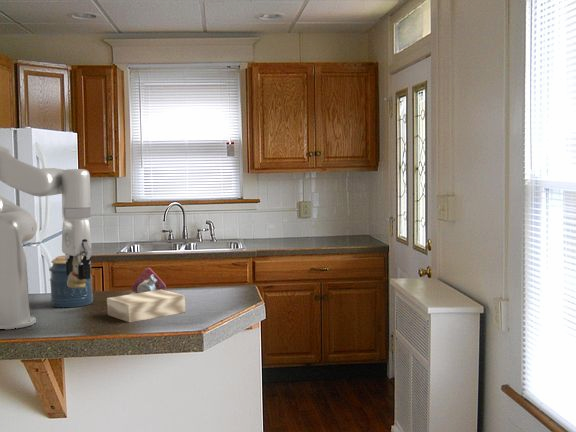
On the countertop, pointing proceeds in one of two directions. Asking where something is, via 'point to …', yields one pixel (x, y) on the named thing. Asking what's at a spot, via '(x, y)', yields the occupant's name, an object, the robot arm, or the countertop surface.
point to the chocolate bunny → (75, 276)
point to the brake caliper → (147, 282)
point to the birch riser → (145, 305)
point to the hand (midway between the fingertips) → (78, 276)
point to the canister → (62, 292)
